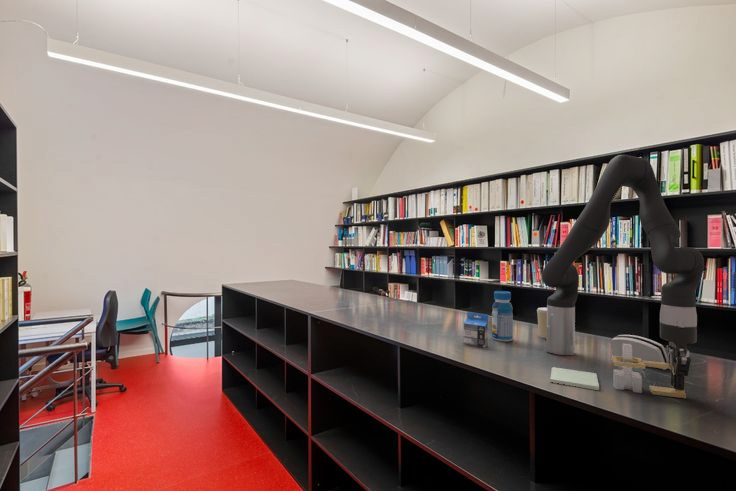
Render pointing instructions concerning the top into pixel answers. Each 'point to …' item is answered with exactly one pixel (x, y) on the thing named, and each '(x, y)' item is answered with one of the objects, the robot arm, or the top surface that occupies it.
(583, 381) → the mat
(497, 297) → the beverage bottle
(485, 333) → the label tape cartridge
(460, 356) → the top surface
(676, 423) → the top surface
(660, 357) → the white arched piece
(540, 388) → the top surface
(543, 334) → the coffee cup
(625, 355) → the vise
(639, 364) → the square loop paddle
